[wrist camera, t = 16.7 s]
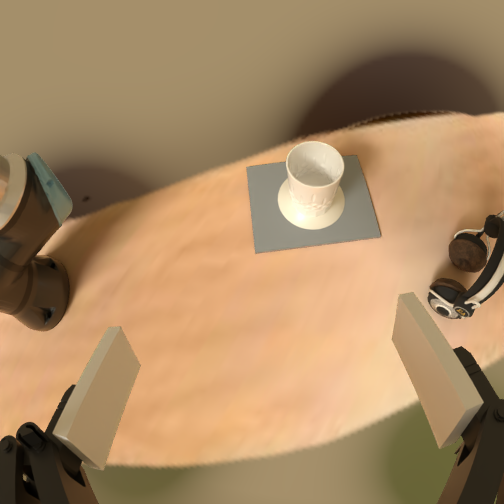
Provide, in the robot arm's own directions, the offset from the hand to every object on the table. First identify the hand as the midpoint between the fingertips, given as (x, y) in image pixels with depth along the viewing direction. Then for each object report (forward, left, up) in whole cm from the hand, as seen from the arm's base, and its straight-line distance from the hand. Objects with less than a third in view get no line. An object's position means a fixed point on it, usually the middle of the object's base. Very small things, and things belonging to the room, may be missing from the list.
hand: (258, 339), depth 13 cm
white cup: (+8, +22, -29) cm, 38 cm away
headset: (+29, +6, -30) cm, 42 cm away
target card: (+8, +23, -30) cm, 38 cm away
